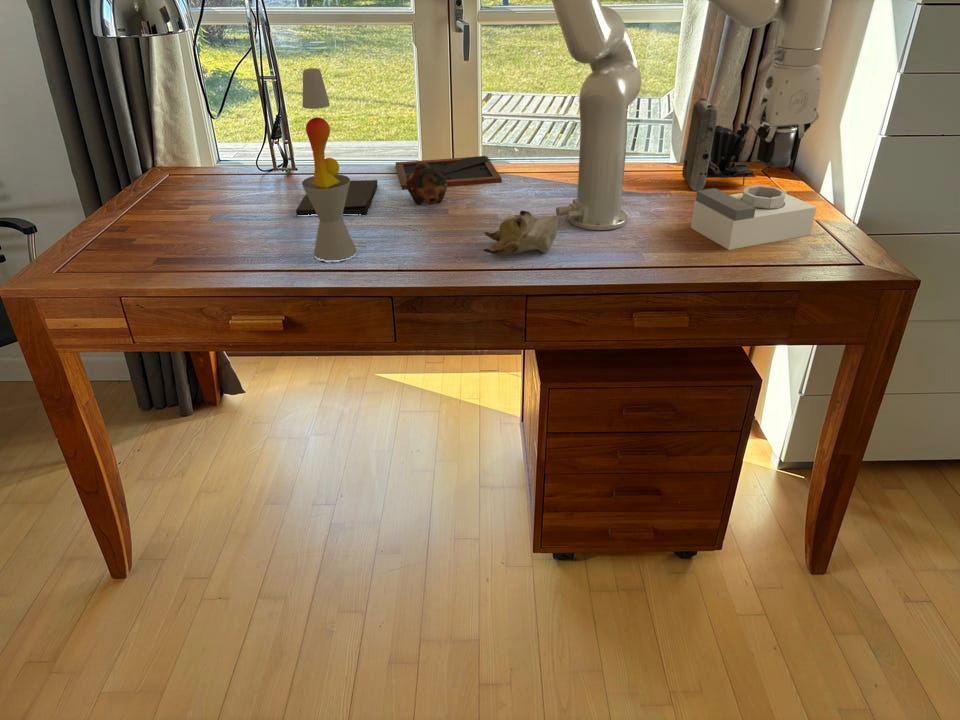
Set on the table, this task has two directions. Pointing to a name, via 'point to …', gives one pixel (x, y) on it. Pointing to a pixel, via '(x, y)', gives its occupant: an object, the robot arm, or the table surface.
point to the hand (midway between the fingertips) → (776, 158)
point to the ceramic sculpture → (523, 234)
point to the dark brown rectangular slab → (348, 199)
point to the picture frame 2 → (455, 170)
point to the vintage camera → (712, 148)
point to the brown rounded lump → (426, 185)
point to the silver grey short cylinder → (782, 146)
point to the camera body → (751, 216)
